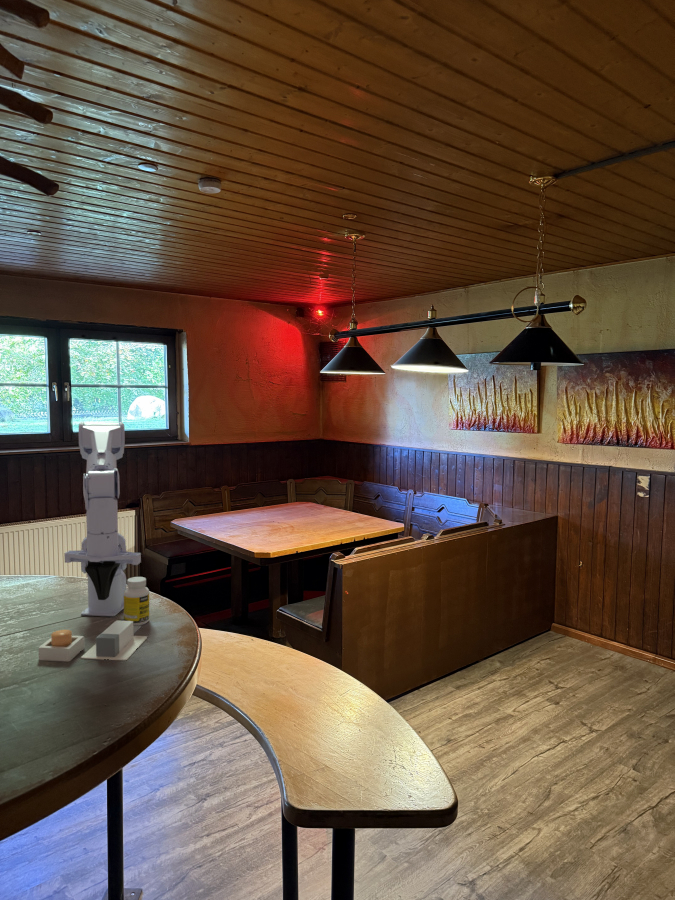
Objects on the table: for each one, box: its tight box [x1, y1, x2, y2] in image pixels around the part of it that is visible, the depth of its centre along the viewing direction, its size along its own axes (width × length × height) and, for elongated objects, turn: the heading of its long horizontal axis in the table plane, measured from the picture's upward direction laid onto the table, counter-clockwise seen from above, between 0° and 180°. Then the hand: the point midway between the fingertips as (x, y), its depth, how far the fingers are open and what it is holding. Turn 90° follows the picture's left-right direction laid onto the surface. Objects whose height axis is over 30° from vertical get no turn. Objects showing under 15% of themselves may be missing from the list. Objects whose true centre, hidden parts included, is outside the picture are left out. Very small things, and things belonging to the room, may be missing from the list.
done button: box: [50, 629, 73, 647], centre depth 118 cm, size 4×4×3 cm
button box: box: [37, 635, 85, 662], centre depth 118 cm, size 6×6×2 cm
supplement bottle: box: [123, 576, 150, 626], centre depth 134 cm, size 5×5×10 cm
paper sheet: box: [80, 635, 149, 661], centre depth 121 cm, size 11×9×1 cm
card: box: [133, 625, 141, 635], centre depth 130 cm, size 4×6×1 cm, turn 87°
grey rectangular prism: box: [95, 619, 134, 657], centre depth 121 cm, size 9×4×4 cm, turn 176°
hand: (103, 598), depth 120 cm, fingers closed
